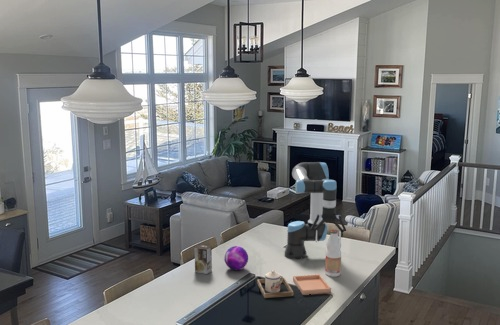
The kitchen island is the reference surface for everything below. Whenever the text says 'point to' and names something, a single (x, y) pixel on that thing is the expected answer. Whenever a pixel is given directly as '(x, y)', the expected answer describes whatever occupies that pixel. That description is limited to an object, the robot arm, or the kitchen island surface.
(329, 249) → the fruit juice
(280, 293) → the walnut corral
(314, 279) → the terracotta dish
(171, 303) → the kitchen island surface
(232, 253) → the decorative orb
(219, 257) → the kitchen island surface
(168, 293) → the kitchen island surface
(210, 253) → the coffee box
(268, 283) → the teacup with lid
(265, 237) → the kitchen island surface
